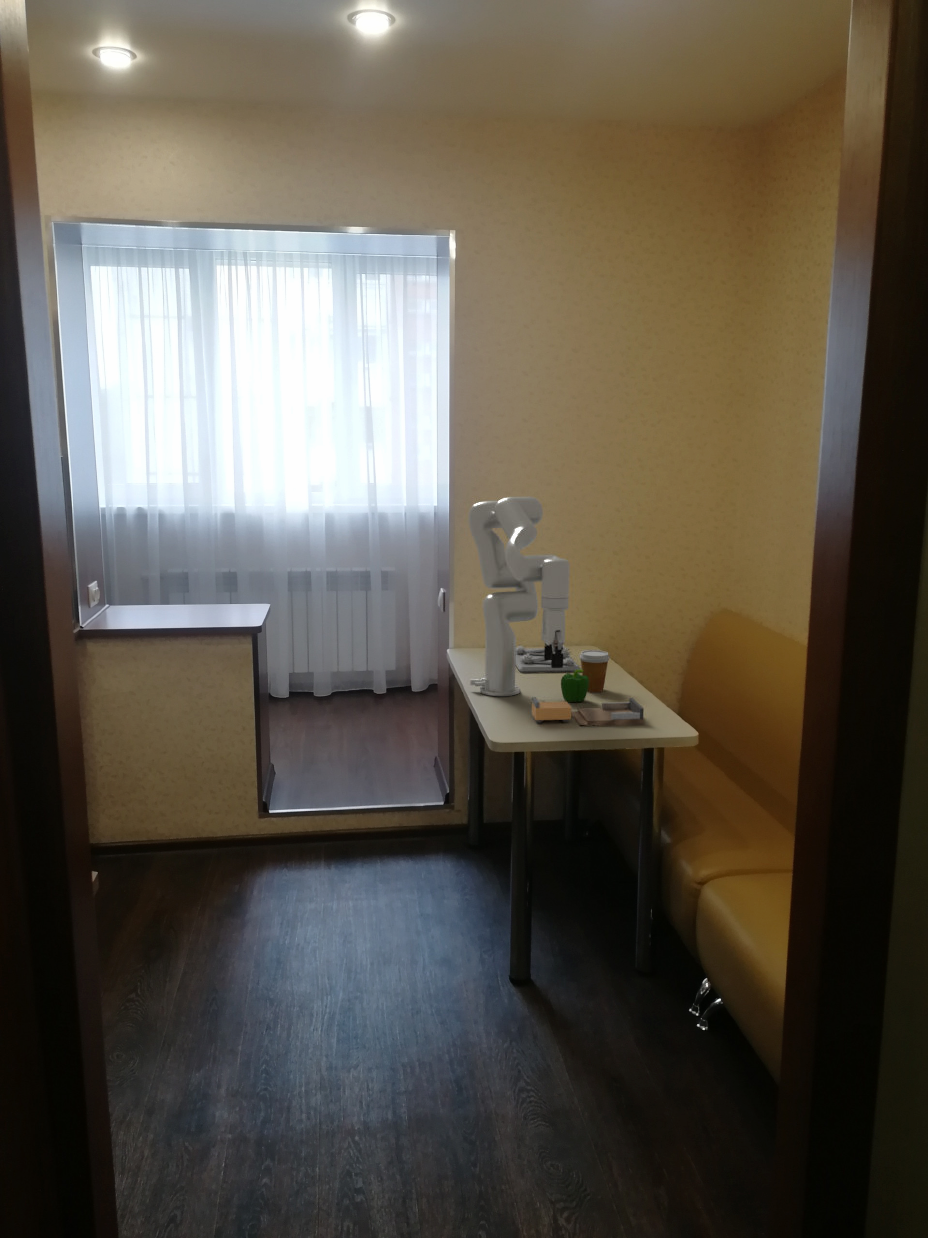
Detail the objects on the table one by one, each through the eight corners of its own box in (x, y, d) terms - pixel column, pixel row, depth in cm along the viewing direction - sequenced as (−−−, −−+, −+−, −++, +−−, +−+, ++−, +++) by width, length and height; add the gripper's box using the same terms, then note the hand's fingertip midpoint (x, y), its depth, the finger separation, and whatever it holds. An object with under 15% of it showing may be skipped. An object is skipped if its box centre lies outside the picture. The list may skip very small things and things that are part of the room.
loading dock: (580, 726, 259) (580, 710, 258) (570, 713, 270) (571, 698, 270) (643, 724, 261) (644, 709, 260) (631, 712, 272) (632, 697, 271)
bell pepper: (554, 699, 285) (555, 667, 284) (573, 695, 290) (574, 664, 288) (573, 706, 279) (574, 673, 277) (593, 701, 284) (594, 669, 282)
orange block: (535, 724, 260) (536, 702, 259) (531, 717, 266) (532, 696, 265) (570, 723, 261) (571, 702, 260) (566, 716, 268) (566, 696, 266)
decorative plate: (507, 655, 347) (507, 636, 346) (564, 654, 349) (564, 635, 348) (519, 674, 318) (520, 654, 316) (581, 673, 320) (582, 653, 319)
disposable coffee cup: (607, 694, 292) (609, 657, 289) (577, 692, 294) (578, 655, 291) (609, 686, 301) (610, 650, 299) (579, 685, 303) (580, 649, 300)
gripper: (535, 598, 266) (534, 657, 269) (547, 608, 249) (546, 671, 252) (561, 598, 267) (560, 656, 270) (575, 608, 250) (573, 670, 253)
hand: (553, 663), depth 261 cm, fingers open, 9 cm apart
